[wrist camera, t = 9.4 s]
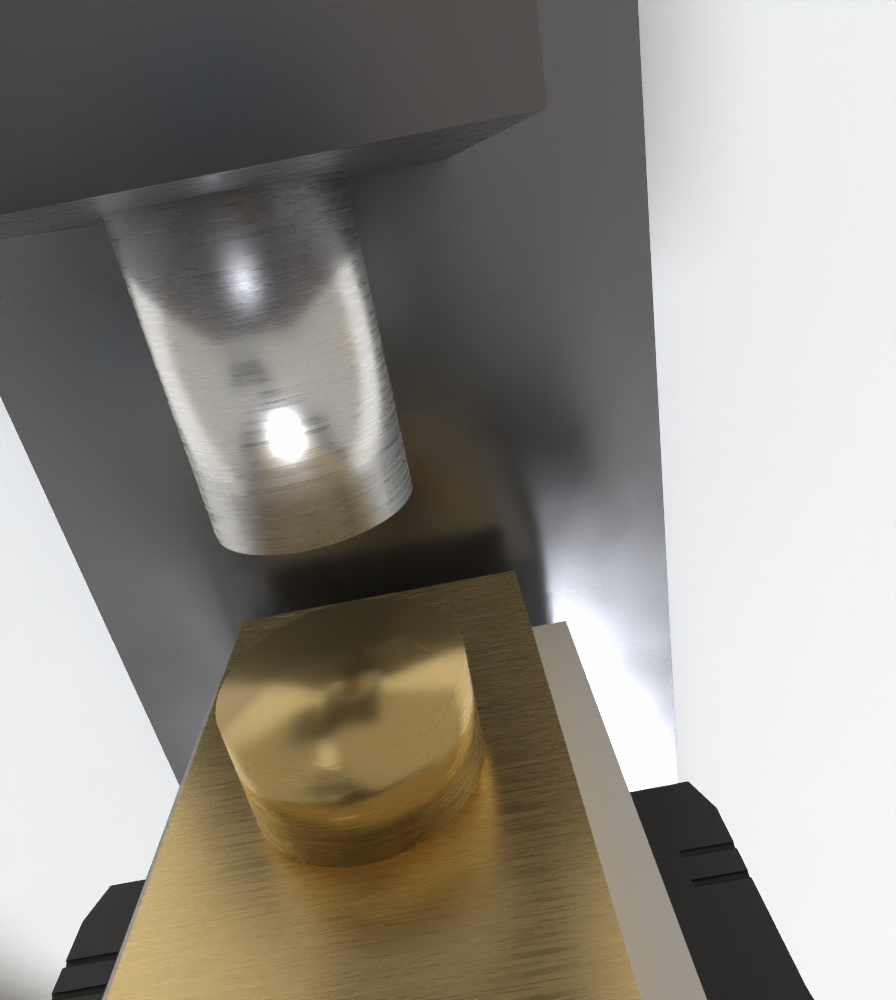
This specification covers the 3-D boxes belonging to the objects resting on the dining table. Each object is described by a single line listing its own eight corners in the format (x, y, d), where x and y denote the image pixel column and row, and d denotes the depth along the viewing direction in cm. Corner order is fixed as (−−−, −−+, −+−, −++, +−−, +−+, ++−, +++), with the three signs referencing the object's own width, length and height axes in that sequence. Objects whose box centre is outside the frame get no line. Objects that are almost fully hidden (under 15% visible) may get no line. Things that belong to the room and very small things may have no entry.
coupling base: (-129, 58, 10) (-1878, -352, 2) (619, -93, 10) (1405, -1084, 2) (301, 1021, 20) (238, 1551, 12) (679, 956, 20) (858, 1454, 12)
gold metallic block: (216, 549, 12) (-62, 1103, 5) (502, 495, 12) (660, 976, 5) (331, 864, 15) (268, 1475, 8) (555, 823, 15) (695, 1404, 8)
